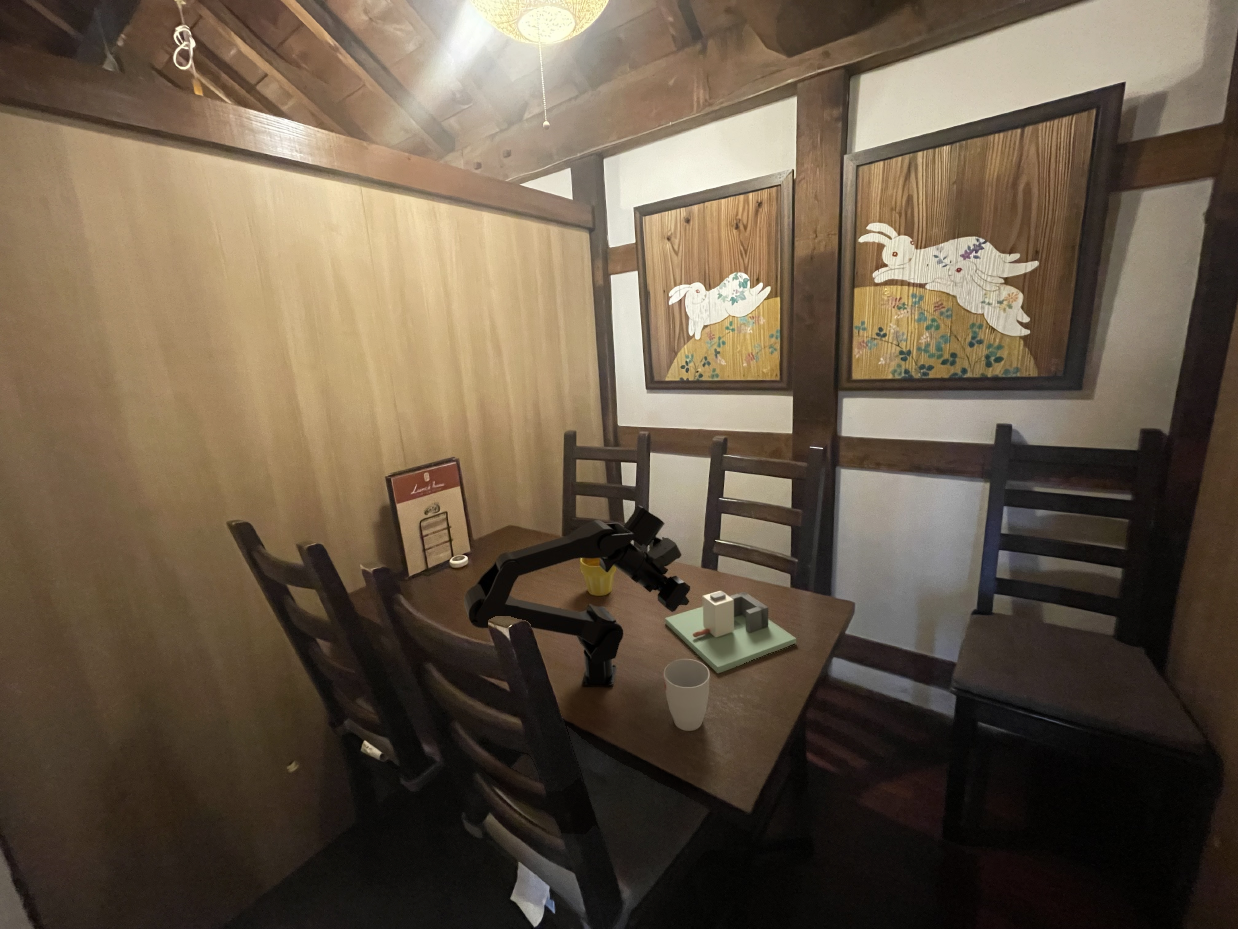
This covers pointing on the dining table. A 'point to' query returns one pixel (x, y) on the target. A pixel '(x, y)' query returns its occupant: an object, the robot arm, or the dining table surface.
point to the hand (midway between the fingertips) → (681, 597)
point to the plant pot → (597, 576)
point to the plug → (717, 614)
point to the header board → (728, 640)
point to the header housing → (750, 611)
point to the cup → (687, 692)
